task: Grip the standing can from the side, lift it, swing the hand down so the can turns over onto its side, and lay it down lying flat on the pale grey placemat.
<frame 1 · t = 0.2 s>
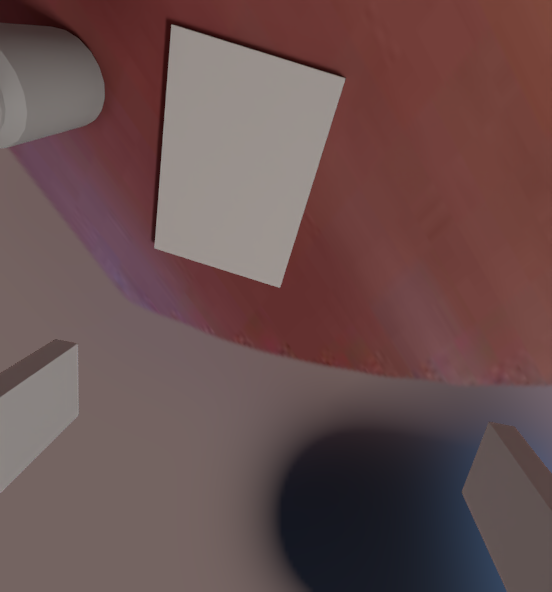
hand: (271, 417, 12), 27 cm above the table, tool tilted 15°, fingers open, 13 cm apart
can: (71, 78, 34), on the table
placemat: (236, 174, 35), on the table
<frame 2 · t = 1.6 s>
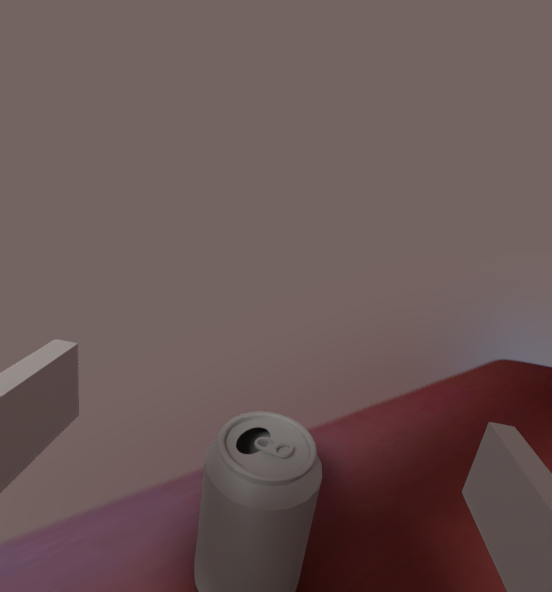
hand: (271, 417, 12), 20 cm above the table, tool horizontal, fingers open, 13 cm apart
can: (245, 576, 28), on the table
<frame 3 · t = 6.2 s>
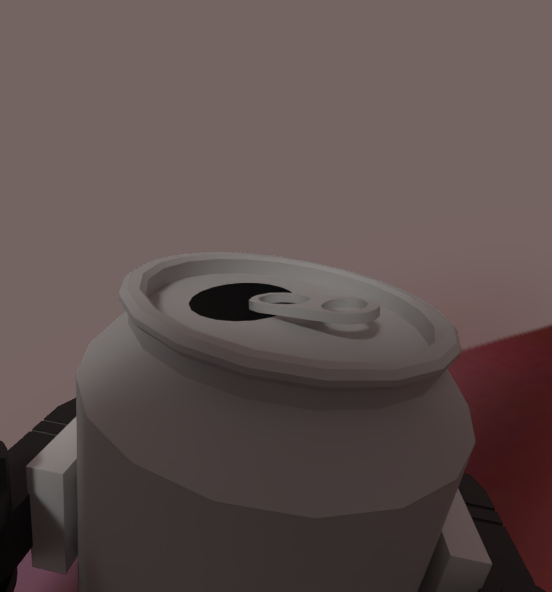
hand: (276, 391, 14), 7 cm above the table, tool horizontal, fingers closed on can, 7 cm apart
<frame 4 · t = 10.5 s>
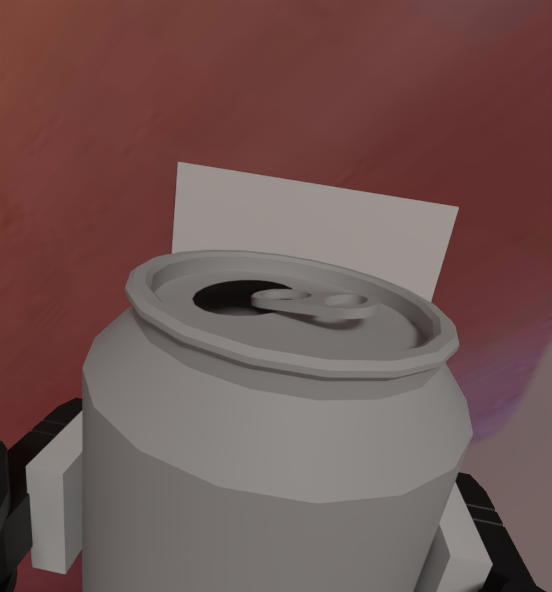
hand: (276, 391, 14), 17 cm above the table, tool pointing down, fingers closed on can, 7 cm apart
placemat: (299, 276, 30), on the table
when the fingers open (2 cm above the table, at t = 13.6 s): can drops 2 cm, resting on placemat.
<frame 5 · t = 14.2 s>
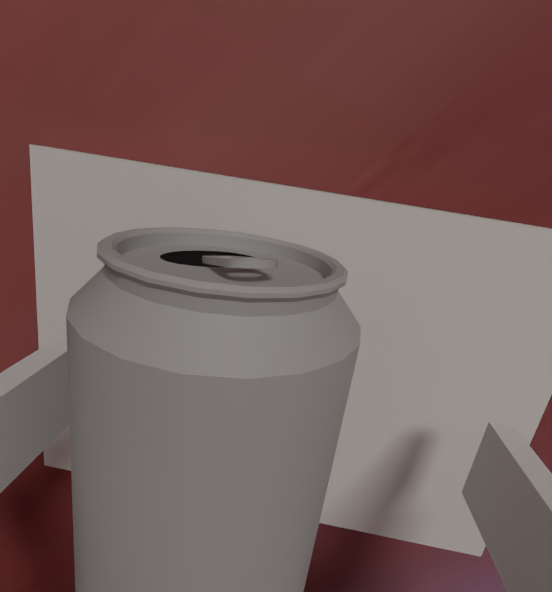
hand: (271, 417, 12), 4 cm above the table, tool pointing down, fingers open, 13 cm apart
can: (195, 580, 14), point 5 cm above the table, touching placemat
placemat: (281, 363, 16), on the table
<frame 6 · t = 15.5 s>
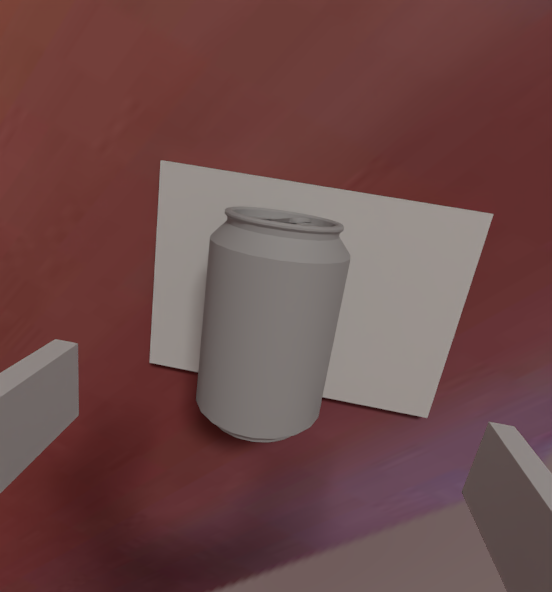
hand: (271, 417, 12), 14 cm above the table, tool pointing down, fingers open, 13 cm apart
can: (256, 412, 23), point 5 cm above the table, touching placemat
placemat: (302, 293, 26), on the table
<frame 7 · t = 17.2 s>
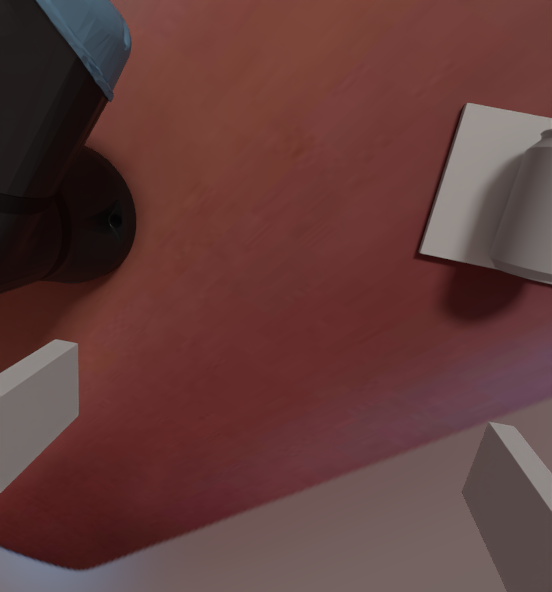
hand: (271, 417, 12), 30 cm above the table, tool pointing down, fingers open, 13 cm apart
can: (529, 277, 34), point 5 cm above the table, touching placemat
placemat: (544, 203, 37), on the table
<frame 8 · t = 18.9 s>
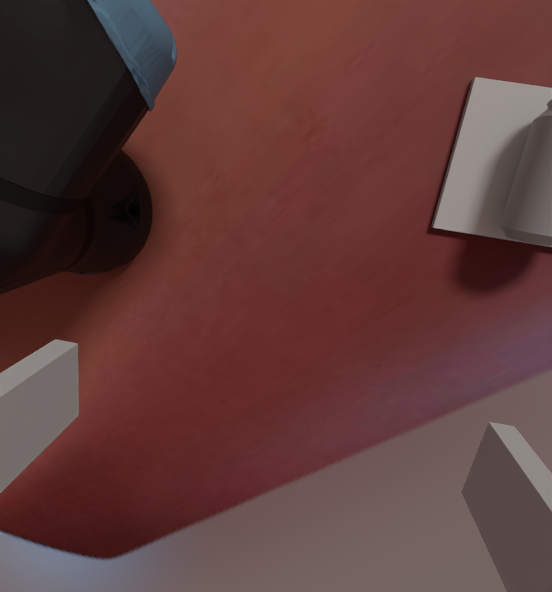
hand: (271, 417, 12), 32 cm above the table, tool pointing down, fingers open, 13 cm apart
can: (540, 245, 35), point 5 cm above the table, touching placemat
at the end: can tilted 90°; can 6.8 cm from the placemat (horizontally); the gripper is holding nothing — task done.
